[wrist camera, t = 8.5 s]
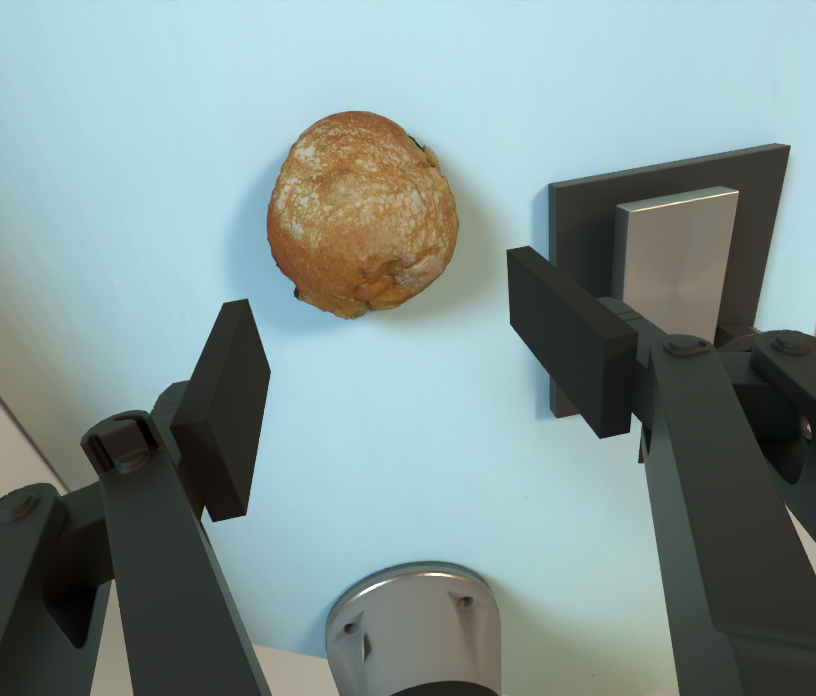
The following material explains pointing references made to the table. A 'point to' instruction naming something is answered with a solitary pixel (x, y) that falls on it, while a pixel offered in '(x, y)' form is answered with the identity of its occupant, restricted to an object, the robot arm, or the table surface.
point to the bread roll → (360, 215)
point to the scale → (598, 195)
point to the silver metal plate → (674, 258)
